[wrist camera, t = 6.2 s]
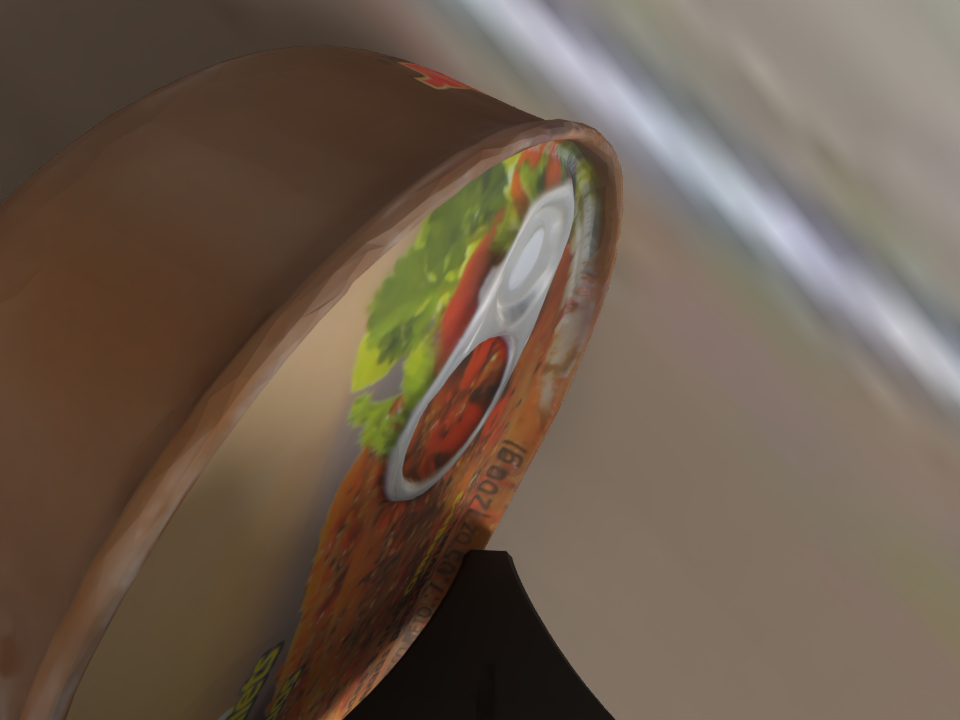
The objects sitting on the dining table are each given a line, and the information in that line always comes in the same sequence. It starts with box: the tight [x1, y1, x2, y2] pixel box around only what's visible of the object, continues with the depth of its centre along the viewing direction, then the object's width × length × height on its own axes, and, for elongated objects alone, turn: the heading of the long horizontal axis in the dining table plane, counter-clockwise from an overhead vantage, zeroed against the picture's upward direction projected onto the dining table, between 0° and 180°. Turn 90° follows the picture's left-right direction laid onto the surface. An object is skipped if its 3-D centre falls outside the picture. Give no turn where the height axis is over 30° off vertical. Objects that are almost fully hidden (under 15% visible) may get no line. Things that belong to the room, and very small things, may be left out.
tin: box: [0, 46, 623, 720], centre depth 8 cm, size 15×3×8 cm, turn 154°
